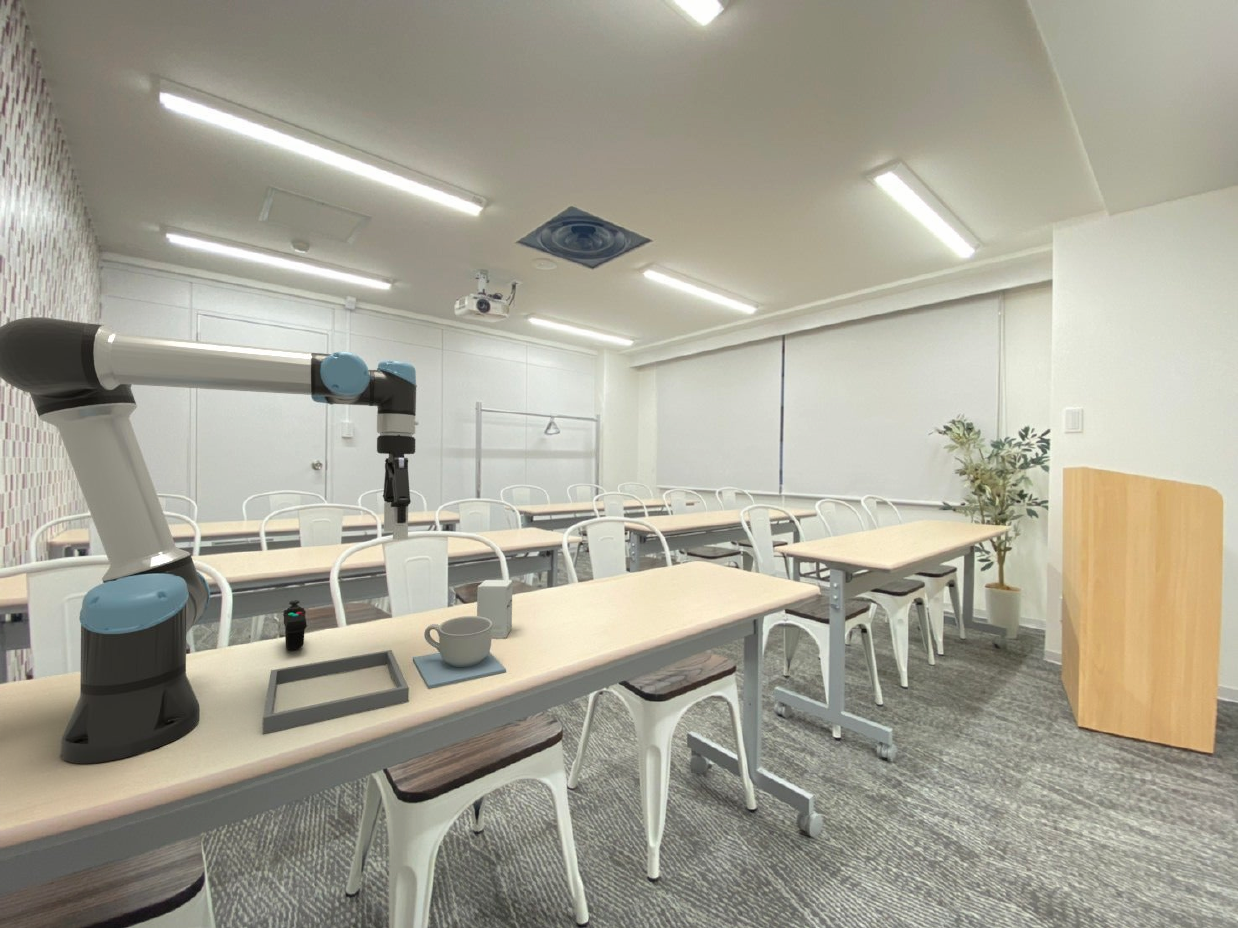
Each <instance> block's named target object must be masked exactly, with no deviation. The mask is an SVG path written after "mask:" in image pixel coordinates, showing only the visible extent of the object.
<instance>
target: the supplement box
mask: <svg viewBox="0 0 1238 928" xmlns="http://www.w3.org/2000/svg"><path fill="white" fill-rule="evenodd" d="M476 595H477V596H476V597H477V598H476V599H477V600H476V601H477V602H476V616H479V617H484V618H487V619H489V620H491V622H492V636H491V639H506V638H507V636H508V635H509V633H510V631H511V630H512V629H513V626H512V625H513V624H512V623H513V622H512V621H513V579H485V580H484V581H482V582H481V583H480V584H479V585H477V594H476Z"/></svg>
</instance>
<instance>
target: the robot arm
mask: <svg viewBox="0 0 1238 928" xmlns="http://www.w3.org/2000/svg"><path fill="white" fill-rule="evenodd" d="M416 373H417V372H416V368H415V366H414V365H412V364H411V363H408V362H403V361H398V360H393V361H392V360H383V361H380V362H379V363H378V365H377V368H376V369H369V368H368V366H367V364H366V362H365V361H364V360H363V359H362V358H361V356H358V355H357V354H355V353H353V352H350V351H337V352H333V353H323V352H322V353H321V352H312V351H302V350H291V349H290V350H289V349H280V348H279V349H278V348H271V347H260V346H259V347H258V346H251V345H250V346H249V345H241V344H240V345H239V344H230V343H219V342H218V343H217V342H210V341H200V340H189V339H177V338H170V337H169V338H168V337H159V336H150V335H140V334H139V335H138V334H129V333H120V332H118V331H116V330H115V329H114V328H112V327H111V326H110V325H107V324H98V323H96V324H95V323H90V322H89V323H88V322H81V321H72V320H67V319H66V320H64V319H59V318H51V317H42V316H41V317H39V316H37V317H36V316H35V317H34V316H32V317H30V316H29V317H23V318H19V319H18V318H17V319H14V320H12V321H8V322H7V323H5V324H3V325H2V326H0V379H1V380H3V381H4V382H5V383H6V384H9V386H12V387H14V388H16V389H17V390H21V391H22V392H26V393H29V395H30V398H31V401H32V403H33V405H34V408H35V410H36V413H37V416H38V418H39V420H40V421H42V422H45V423H47V424H50V425H52V426H54V427H56V428H57V431H58V432H59V435H60V437H61V440H62V442H63V445H64V448H65V451H66V453H67V455H68V459H69V461H70V463H71V466H72V468H73V472H74V474H75V477H76V479H77V482H78V484H79V487H80V490H81V492H82V495H83V498H84V499H85V502H86V506H87V508H88V511H89V513H90V517H91V519H92V521H93V523H94V524H93V525H94V527H95V529H96V531H97V534H98V537H99V539H100V542H101V545H102V547H103V550H104V552H105V555H106V558H107V560H108V562H109V568H108V569H107V570H106V573H104V574H103V577H102V578H101V581H102V583H100V584H98V585H96V586H93V587H92V589H89V590H88V591H87V593H86V594H84V597H83V599H82V601H81V602H82V603H81V608H80V609H81V610H80V612H79V622H80V691H79V693H80V694H79V697H78V701H77V703H76V704H75V708H74V710H73V712H72V715H71V716H70V719H69V721H68V723H67V725H66V728H65V730H64V733H63V735H62V738H61V745H60V746H61V747H60V749H61V750H60V752H61V753H60V755H61V756H60V757H61V758H62V760H64V761H66V762H69V763H74V764H95V763H102V762H109V761H115V760H120V759H124V758H128V757H132V756H135V755H139V754H143V753H145V752H148V751H153V750H155V749H157V748H159V747H161V746H164V745H167V744H169V743H172V742H174V741H175V740H177V739H180V738H181V737H183V736H184V735H186V734H188V733H190V731H191V730H193V729H194V728H195V727H196V726H197V725H198V724H199V722H200V714H201V713H200V703H199V700H198V698H197V696H196V693H195V691H194V690H193V687H192V684H191V683H190V679H189V678H188V676H187V637H188V636H187V635H188V634H187V633H188V632H189V631H190V630H191V629H192V627H193V626H195V625H196V624H197V623H198V622H199V621H200V620H201V619H202V618H203V615H204V614H205V613H206V611H207V609H208V606H209V603H210V598H211V589H210V585H209V583H208V581H207V579H206V578H205V577H204V576H203V575H202V573H200V572H199V571H197V569H196V565H195V563H194V560H193V558H192V555H191V553H190V552H189V551H187V550H183V549H181V548H179V547H177V546H176V544H175V541H174V539H173V538H174V537H173V535H172V533H171V530H170V527H169V524H168V521H167V519H166V516H165V512H164V510H163V508H162V505H161V502H160V500H159V496H158V494H157V491H156V489H155V486H154V483H153V481H152V478H151V475H150V472H149V470H148V469H149V468H148V466H147V463H146V461H145V459H144V456H143V453H142V450H141V448H140V445H139V441H138V439H137V436H136V434H135V431H134V428H133V426H132V423H131V420H130V417H131V415H132V414H133V412H135V410H136V409H137V407H138V406H137V402H136V400H135V397H134V393H133V391H132V388H131V387H132V385H133V386H150V387H166V388H167V387H168V388H183V389H185V388H186V389H187V388H188V389H203V390H217V391H218V390H221V391H237V392H255V393H269V394H270V393H271V394H272V393H273V394H290V395H292V394H293V395H307V396H311V399H312V401H313V402H316V403H320V404H328V405H349V406H351V405H352V406H369V407H376V408H377V411H376V412H377V414H376V433H378V434H379V435H378V436H377V437H376V452H377V453H378V454H383V455H388V457H386V458H385V460H384V462H385V463H384V483H383V493H382V494H383V495H382V498H383V501H384V502H383V503H384V504H383V505H384V506H383V533H384V532H385V533H386V532H388V533H389V532H392V540H394V541H396V540H407V539H409V505H410V504H411V501H412V500H411V492H410V480H409V458H408V457H405V455H414V454H415V453H416V438H415V437H414V436H413V435H415V434H416V426H419V420H416V415H417V414H416V413H417V411H416V410H417V408H416V407H417V388H418V387H417V386H418V385H417V380H416V379H417V377H416V376H417V374H416Z"/></svg>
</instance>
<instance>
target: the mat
mask: <svg viewBox="0 0 1238 928" xmlns="http://www.w3.org/2000/svg"><path fill="white" fill-rule="evenodd" d="M412 662H413V664H414V666H415V667H416V668H417V670H418V673H419V674H420V676H421V678H422V680H423V681H424V684H425V686H426V688H427V689H428V690H429V689H434V688H439V687H443V686H447V685H454V684H456V683H457V684H458V683H462V682H467V681H471V680H476V679H480V678H481V679H482V678H485V677H489V676H494V675H499V674H504V673H507V668H506V667H504V665H503V664H502V663H501V662H500V661H499V660H498V659H497V658H496V657H495V656H494V655H493V654H492V653H491V652H490V651H489V653H488V655H487V656H486V657H485V658H484V659H482V661H480V662H479V663H477V664H475V665H473V666H469V667H455V666H452V665H450V664H449V663H447V662H446V661H444V660H443V659H442V657H441V655H440V652H435V653H430V654H424V655H420V656H413V657H412Z"/></svg>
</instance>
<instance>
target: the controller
mask: <svg viewBox="0 0 1238 928" xmlns="http://www.w3.org/2000/svg"><path fill="white" fill-rule="evenodd" d="M288 604H289V605H290V606H289V607H288V608H287V609H285V610H283V624H284V627H285V629H284V631H285V633H284V635H285V639H284V640H285V641H284V642H285V649H286V650H291V651H292V650H297V649H300V648H303V646H304V644H305V630H306V628H307V627H308V625H307V618H306V613H307V611H306V610H305V608H304V607H301V606H300V605H299V604H300V600H297V599H296V600H291V601H289V603H288Z"/></svg>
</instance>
